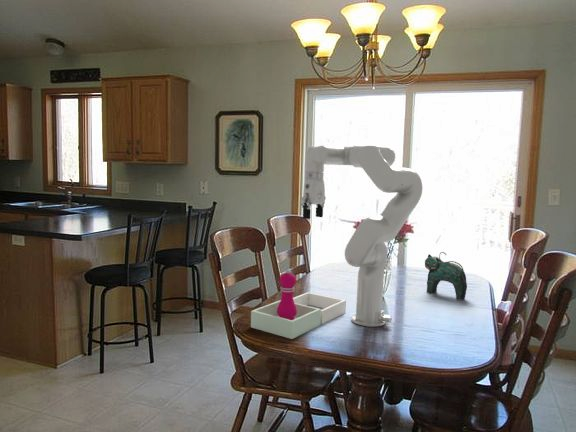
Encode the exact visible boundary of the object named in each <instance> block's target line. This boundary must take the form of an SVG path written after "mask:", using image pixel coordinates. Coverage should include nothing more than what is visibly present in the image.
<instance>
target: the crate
mask: <svg viewBox="0 0 576 432" xmlns="http://www.w3.org/2000/svg"><path fill="white" fill-rule="evenodd" d="M293 300H294V303H297V304H301V305H306V306H310V307H315V308H319V309H321V323H320V325H323V324H325V323H328V322H330V321H332V320H334V319H335V318H337V317H340V316H341V315H343V314H345V313H346V309H347V308H346V307H347V306H346V305H347V300H346V299H342V298H337V297H333V296H328V295H327V296H326V295H323V294H319V293H318V294H317V293H314V292H309V291H307V292H305V293H302V294H299V295H297V296H293Z"/></svg>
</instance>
